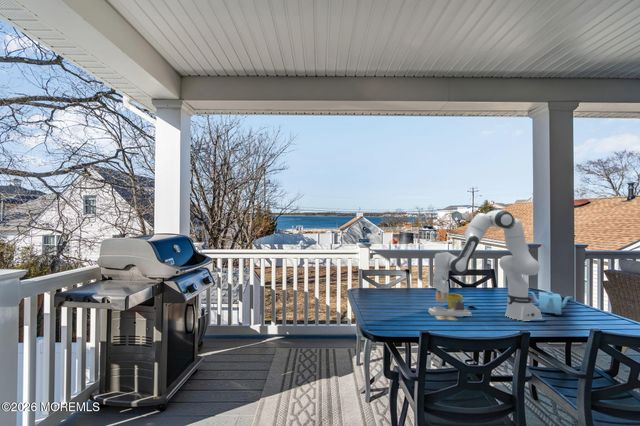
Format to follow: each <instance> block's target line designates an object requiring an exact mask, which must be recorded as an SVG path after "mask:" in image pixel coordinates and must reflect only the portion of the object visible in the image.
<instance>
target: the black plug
mask: <svg viewBox="0 0 640 426" xmlns="http://www.w3.org/2000/svg"><path fill="white" fill-rule="evenodd" d="M454 309H455V310H464V309H465V302H463V301H462V302H461V299H458V302H454Z"/></svg>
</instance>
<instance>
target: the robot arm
mask: <svg viewBox="0 0 640 426" xmlns="http://www.w3.org/2000/svg"><path fill="white" fill-rule="evenodd" d="M491 227H493V228H501V229H502V230H503V235H504V243H505V247H506V250H507V251H509V252H510V253H511V255H504V256H502V257H501V258H500V259H499V263H498V264H499V267H500V269H501V270H502V271H503V272H504V274H505V276H506V279H507V280H506V281H507V288H508V289H507V295H506V297H507V298H506V300H507V301H506V303H507V304H506V305H507V306H506V310H505V313H504V317H506V316H507V317H506V318H508V317H509V318H508V319H511V318H512V319H511V320H514V319H517V320H516V321H519V320H523V321H530V320H532V319H542V317H543V316H542V315H543V314H541V311H540V310H539V307H537V306H536V305H534V304H533V303H532V302H535V300H534V298H533V297H530V296H529V284H528V282H527V281H526V280H525V279H524V277H523V276H537V274H538V273H539V271H540V270H541V266H540V263H539V262H538V261H537V259H535V258H534V257H533V256H532V254H531V253H530V251H529V249H528V247H527V242H526V238H525V237H526V236H525V232H524V227H523V224H522V222H521V220H520V219H519V218H515V217H514V215H512V213H510V211H507V210H502V209H492V210H491V209H490V210H488V211H487V212H484V213H483V212H479V213H477V214H476V215H475V216H473V218H472V219H471V221H470V222H469V224H468V225H467V227H466V229H465V231H464V238H465V244H464V246H463V248H462V250H461V252H460V254H459V255H458V256H456V255H454V254H452V253H450V252H448V251H447V250H441V251H436V253H435V254H434V260H433V261H434V262H433V263H434V270H433V273H432V275H431V276H432V284H433V287H434V289H436V291H438V292H439V291H440V292H441V295H440V298H441V299H443V298H444V294H445V293H446V294H450V293H449V291H450V287H449V281H448V280H449V273H450V272H449V271H451V272H452V273H453V274H455V275H457V276H463V275H465V274H466V273H467V272H468V271H469V270H468V269H469V265H470V260H471V259H472V256H473V255H474V253H475V251H476V249H477V247H478V245H479V244H480V243H481V241H482V239H483V237H484V236H485V235H486V233H487V231H488V230H489V229H490V228H491ZM523 321H522V322H523Z"/></svg>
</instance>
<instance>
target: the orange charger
mask: <svg viewBox="0 0 640 426" xmlns="http://www.w3.org/2000/svg"><path fill="white" fill-rule="evenodd" d="M446 294H447V293H445V294H444V298H443V299H441V298H440V295H441V292H440V291H439V292H438V291H437V290H436V291H435V300H436V302H446Z"/></svg>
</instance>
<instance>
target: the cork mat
mask: <svg viewBox="0 0 640 426" xmlns="http://www.w3.org/2000/svg"><path fill="white" fill-rule="evenodd" d="M433 316H434V318H435V319H437V320H438V321H439V320H440V321H458V320H459V319H458V318H456V316H440V315H433Z"/></svg>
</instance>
